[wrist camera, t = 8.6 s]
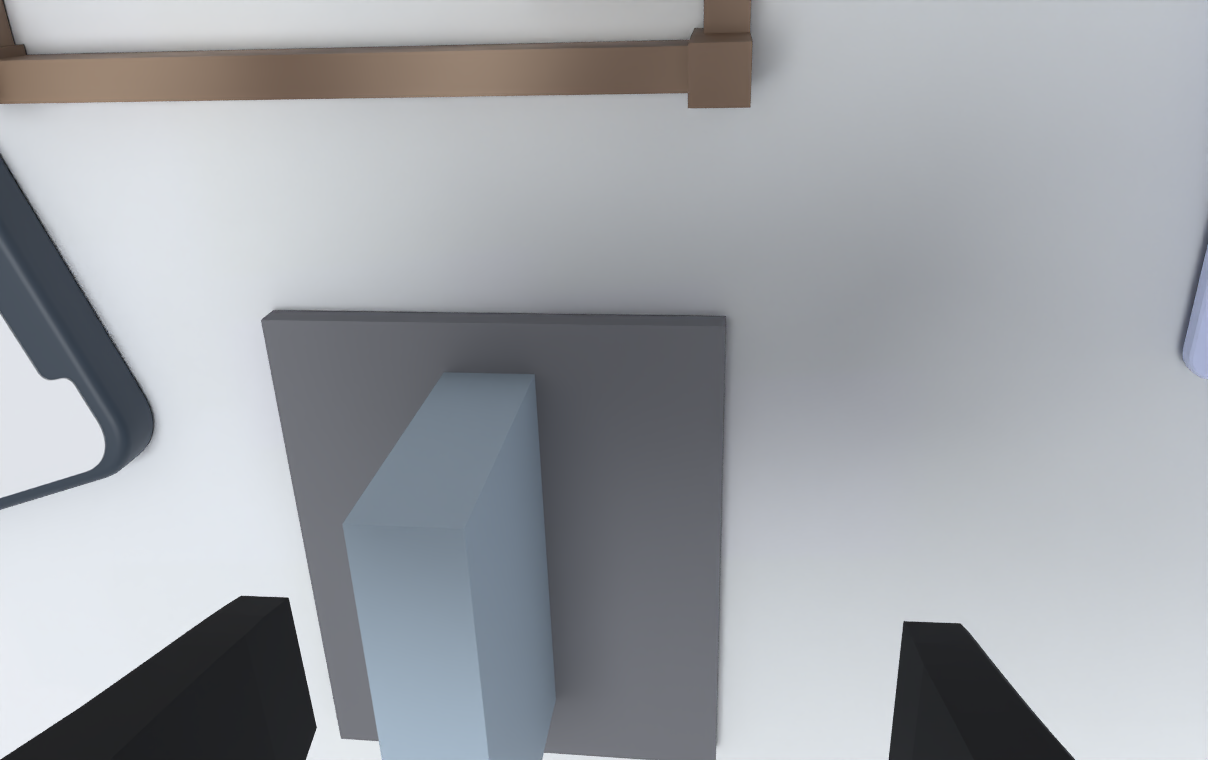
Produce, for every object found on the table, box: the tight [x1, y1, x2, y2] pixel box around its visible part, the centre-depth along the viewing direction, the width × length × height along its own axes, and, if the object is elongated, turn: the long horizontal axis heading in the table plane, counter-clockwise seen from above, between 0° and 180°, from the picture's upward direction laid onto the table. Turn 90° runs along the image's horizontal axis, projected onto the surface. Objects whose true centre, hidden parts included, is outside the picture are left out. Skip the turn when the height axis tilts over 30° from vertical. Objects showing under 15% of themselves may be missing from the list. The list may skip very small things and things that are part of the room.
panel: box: [342, 372, 556, 760], centre depth 20 cm, size 2×9×6 cm, turn 2°
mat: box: [261, 311, 726, 760], centre depth 23 cm, size 10×12×1 cm
